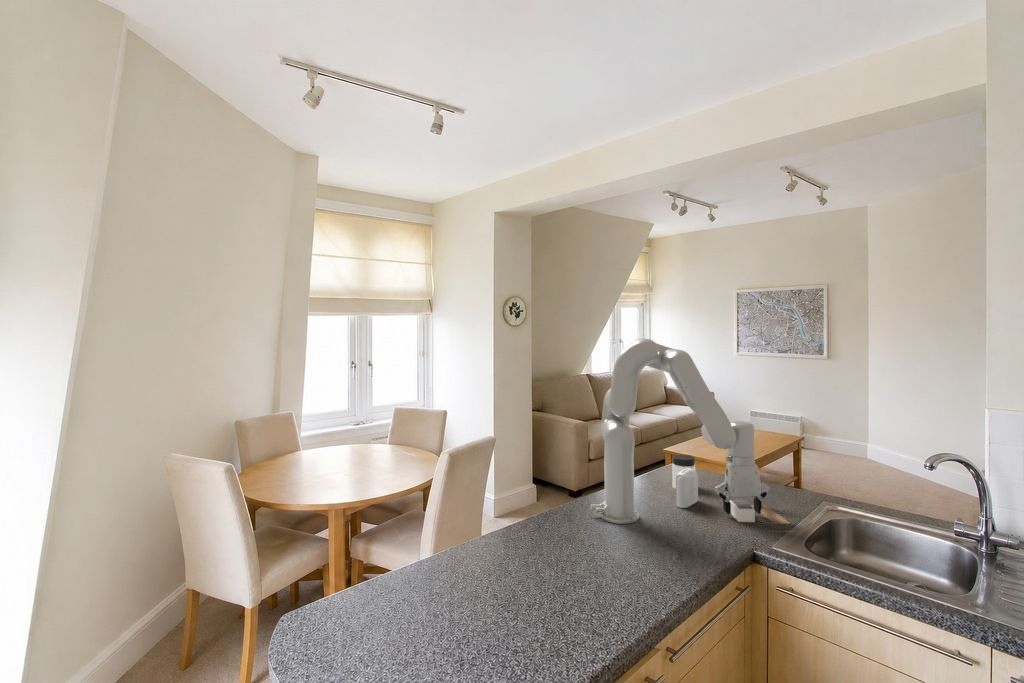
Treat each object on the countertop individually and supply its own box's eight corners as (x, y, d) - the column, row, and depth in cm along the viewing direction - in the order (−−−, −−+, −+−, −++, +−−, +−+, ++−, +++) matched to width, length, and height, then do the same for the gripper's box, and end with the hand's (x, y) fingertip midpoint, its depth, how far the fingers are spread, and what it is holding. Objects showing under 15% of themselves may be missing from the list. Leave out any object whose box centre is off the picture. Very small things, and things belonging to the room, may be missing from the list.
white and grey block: (738, 523, 153) (738, 507, 153) (729, 513, 161) (729, 498, 161) (754, 523, 153) (754, 507, 153) (745, 513, 161) (745, 498, 161)
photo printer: (688, 498, 175) (687, 464, 175) (699, 501, 172) (699, 467, 172) (674, 506, 168) (673, 471, 168) (685, 509, 165) (685, 473, 165)
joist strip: (775, 524, 151) (774, 523, 151) (749, 505, 167) (749, 505, 167) (790, 524, 151) (790, 523, 151) (764, 505, 167) (764, 504, 167)
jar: (674, 483, 193) (674, 453, 193) (696, 485, 189) (696, 455, 189) (670, 489, 185) (670, 458, 185) (693, 492, 181) (693, 461, 181)
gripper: (719, 464, 153) (720, 517, 153) (774, 462, 153) (775, 516, 153) (710, 457, 160) (711, 509, 161) (762, 456, 160) (763, 507, 161)
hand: (742, 512), depth 157 cm, fingers open, 9 cm apart
